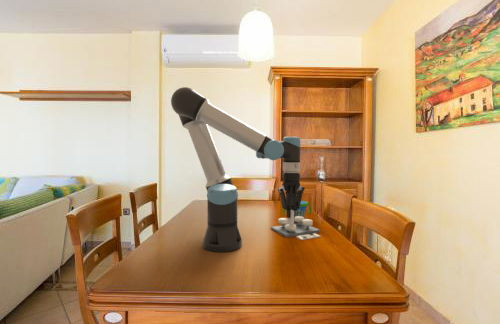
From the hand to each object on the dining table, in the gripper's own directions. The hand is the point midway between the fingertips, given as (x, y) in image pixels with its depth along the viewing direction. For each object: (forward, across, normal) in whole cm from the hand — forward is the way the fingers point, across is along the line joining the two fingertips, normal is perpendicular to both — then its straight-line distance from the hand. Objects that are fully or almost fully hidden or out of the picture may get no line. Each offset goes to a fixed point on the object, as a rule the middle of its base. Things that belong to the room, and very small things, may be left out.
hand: (290, 224), depth 125 cm
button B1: (+2, +9, 0) cm, 9 cm away
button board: (+4, +4, +3) cm, 7 cm away
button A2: (+2, 0, +6) cm, 7 cm away
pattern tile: (+4, +4, -7) cm, 9 cm away
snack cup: (+4, +16, +18) cm, 24 cm away
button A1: (+4, 0, 0) cm, 4 cm away
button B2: (+2, +9, +6) cm, 11 cm away
